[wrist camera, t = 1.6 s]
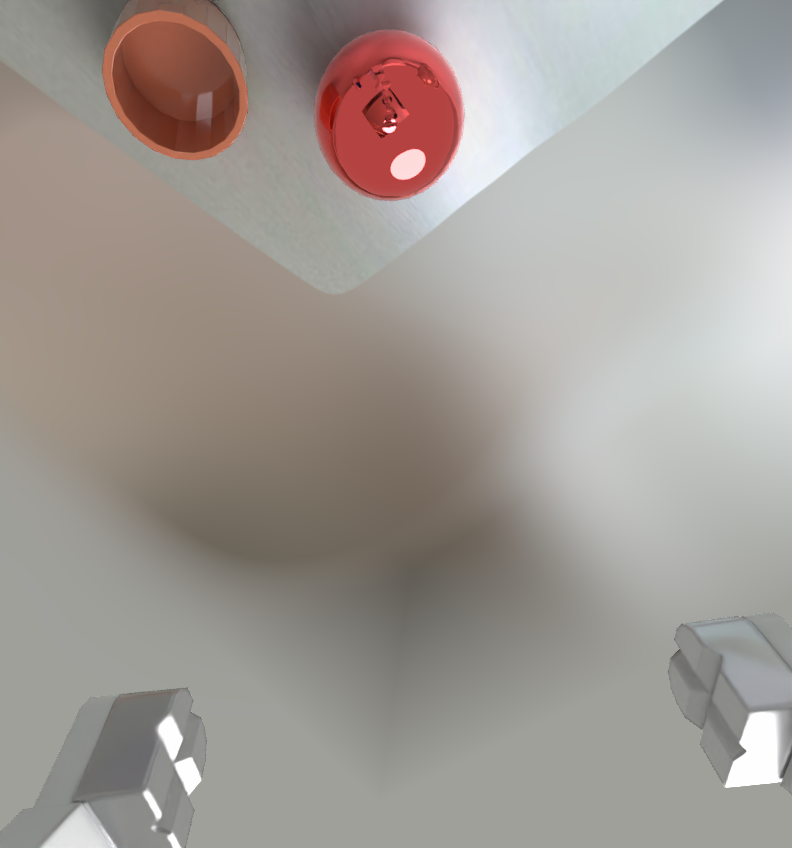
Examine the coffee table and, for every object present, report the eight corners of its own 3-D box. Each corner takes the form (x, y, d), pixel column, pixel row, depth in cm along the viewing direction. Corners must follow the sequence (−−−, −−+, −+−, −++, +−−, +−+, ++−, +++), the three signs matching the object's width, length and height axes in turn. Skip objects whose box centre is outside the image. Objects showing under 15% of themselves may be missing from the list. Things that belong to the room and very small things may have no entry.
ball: (371, 187, 54) (394, 255, 47) (277, 89, 46) (287, 153, 39) (469, 95, 50) (512, 154, 42) (384, -32, 41) (418, 14, 34)
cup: (91, 63, 42) (77, 96, 38) (156, -51, 38) (148, -29, 34) (203, 149, 49) (201, 184, 45) (269, 58, 44) (274, 88, 40)
